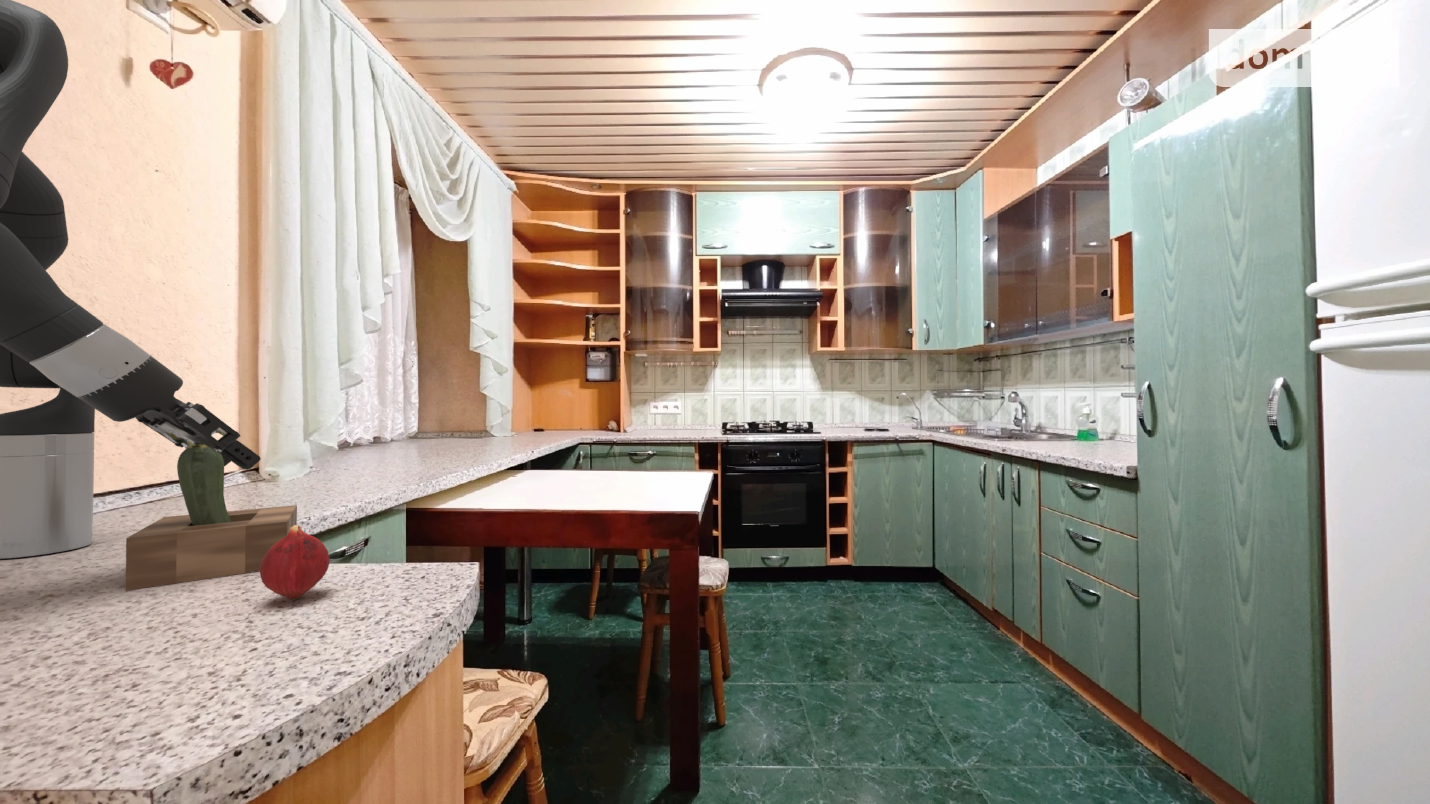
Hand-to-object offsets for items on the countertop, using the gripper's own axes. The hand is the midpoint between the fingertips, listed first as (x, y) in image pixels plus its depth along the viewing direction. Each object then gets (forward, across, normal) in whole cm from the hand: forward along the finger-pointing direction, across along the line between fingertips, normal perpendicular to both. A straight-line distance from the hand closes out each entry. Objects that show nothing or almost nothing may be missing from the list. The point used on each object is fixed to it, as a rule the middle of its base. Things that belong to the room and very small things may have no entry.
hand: (240, 463), depth 68 cm
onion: (+7, -24, +12) cm, 28 cm away
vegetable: (+8, 0, +11) cm, 14 cm away
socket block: (+8, 0, +11) cm, 13 cm away
